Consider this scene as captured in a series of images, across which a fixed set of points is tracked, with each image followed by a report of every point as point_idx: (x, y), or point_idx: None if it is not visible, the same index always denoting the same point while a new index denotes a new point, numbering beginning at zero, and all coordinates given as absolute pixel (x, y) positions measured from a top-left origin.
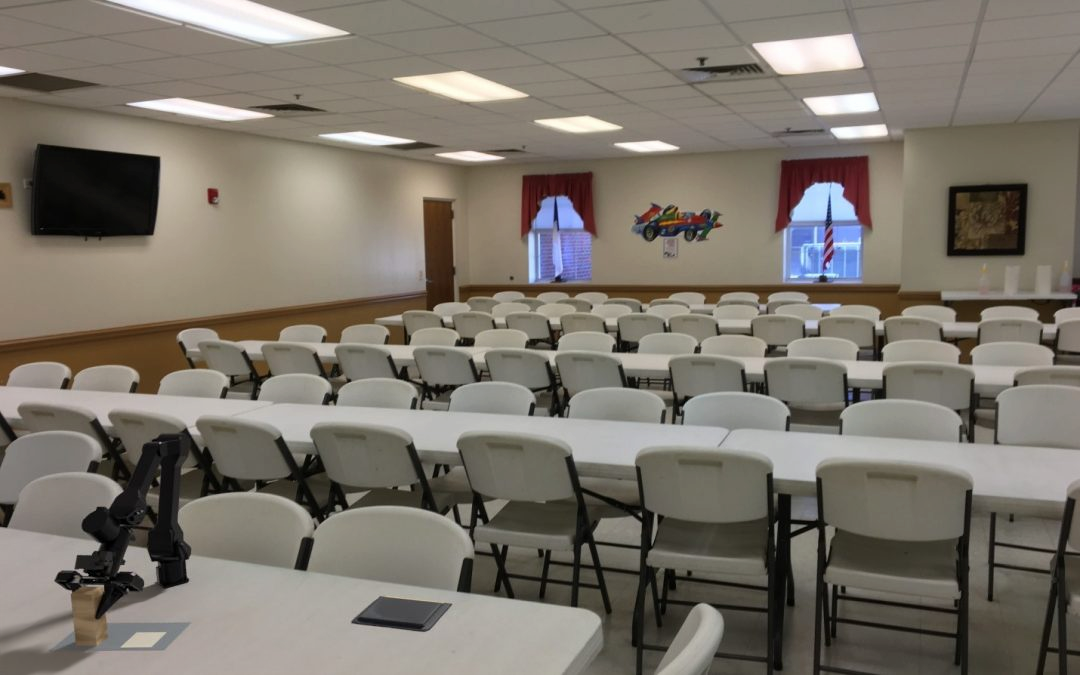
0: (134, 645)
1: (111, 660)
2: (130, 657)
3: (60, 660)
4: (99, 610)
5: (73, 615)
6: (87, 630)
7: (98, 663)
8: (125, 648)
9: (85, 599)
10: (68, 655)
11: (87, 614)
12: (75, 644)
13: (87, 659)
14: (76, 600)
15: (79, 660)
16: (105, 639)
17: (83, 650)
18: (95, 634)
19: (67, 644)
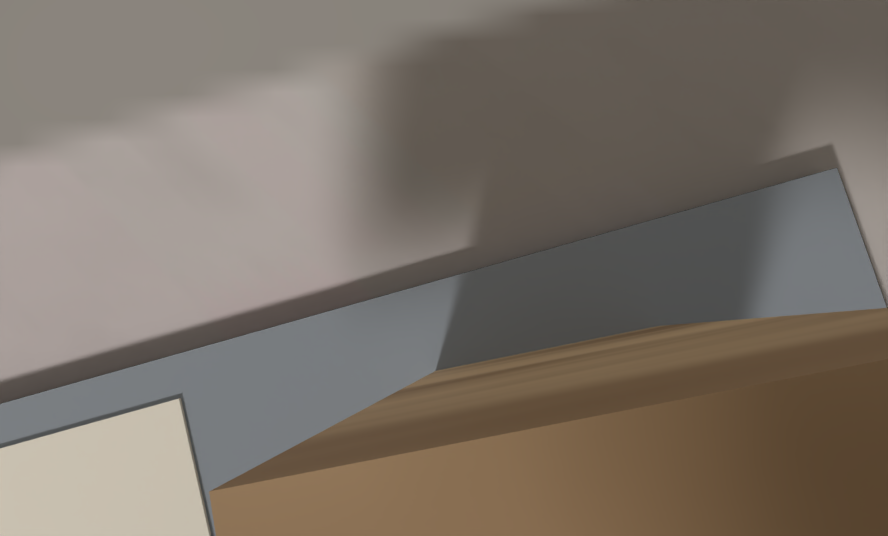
0: (69, 468)
1: (130, 224)
2: (6, 312)
3: (583, 97)
4: None
5: (788, 316)
6: (525, 359)
7: (202, 152)
8: (122, 403)
9: (534, 405)
10: (592, 187)
11: (506, 376)
12: None
13: (354, 179)
14: (858, 338)
15: (411, 145)
16: None
17: (493, 265)
18: (425, 377)
19: (763, 316)
